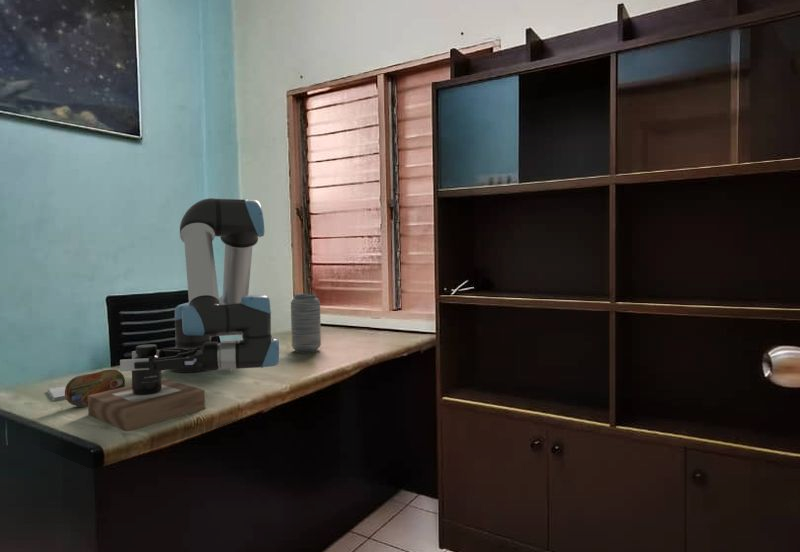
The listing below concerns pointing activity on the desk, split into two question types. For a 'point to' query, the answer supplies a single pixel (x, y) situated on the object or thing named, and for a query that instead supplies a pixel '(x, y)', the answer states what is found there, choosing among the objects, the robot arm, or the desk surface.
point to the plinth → (145, 405)
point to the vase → (305, 323)
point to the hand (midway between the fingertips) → (126, 360)
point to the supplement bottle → (146, 373)
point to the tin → (92, 386)
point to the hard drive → (57, 393)
